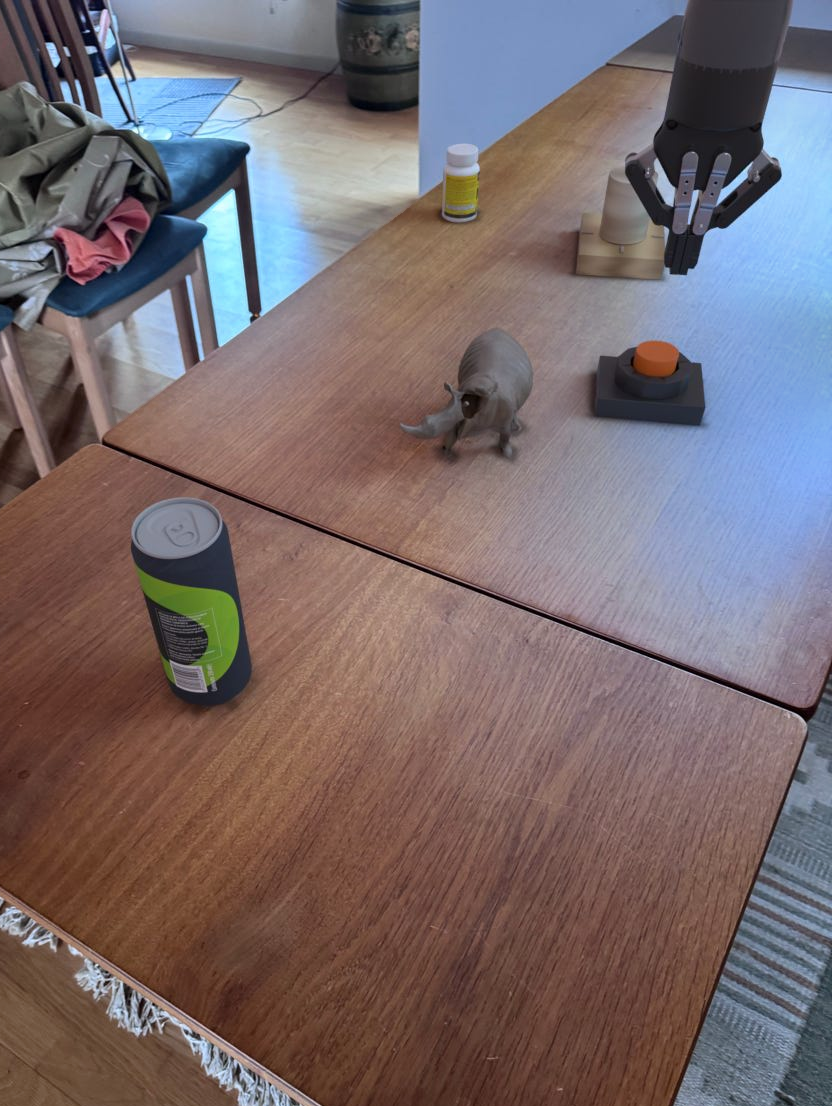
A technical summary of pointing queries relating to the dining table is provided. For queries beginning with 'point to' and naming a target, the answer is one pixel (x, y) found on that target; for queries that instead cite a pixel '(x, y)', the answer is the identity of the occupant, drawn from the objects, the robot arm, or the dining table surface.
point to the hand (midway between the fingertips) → (678, 270)
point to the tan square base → (619, 252)
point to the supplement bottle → (460, 183)
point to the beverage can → (192, 599)
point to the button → (655, 358)
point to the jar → (623, 211)
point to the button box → (649, 391)
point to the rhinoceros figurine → (483, 393)
